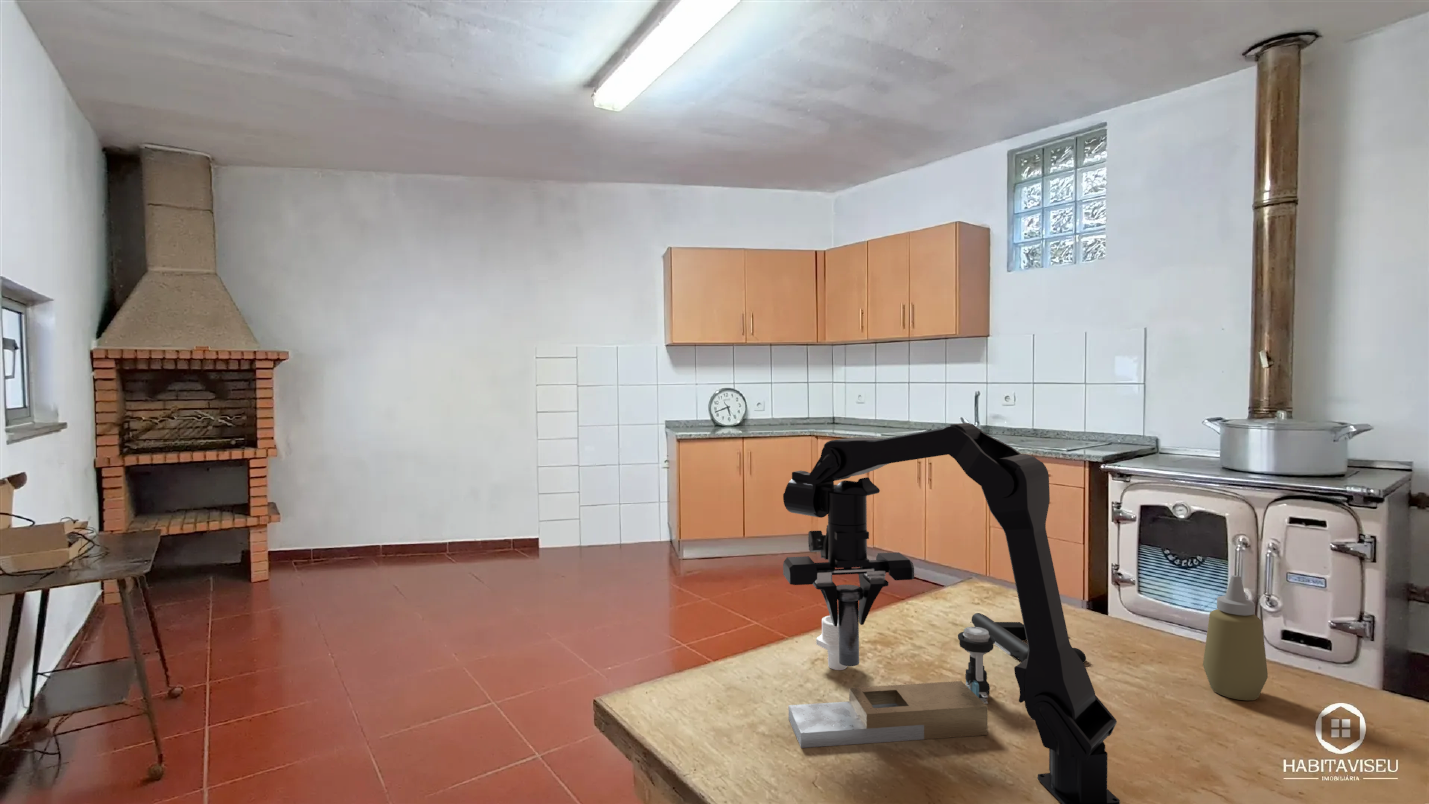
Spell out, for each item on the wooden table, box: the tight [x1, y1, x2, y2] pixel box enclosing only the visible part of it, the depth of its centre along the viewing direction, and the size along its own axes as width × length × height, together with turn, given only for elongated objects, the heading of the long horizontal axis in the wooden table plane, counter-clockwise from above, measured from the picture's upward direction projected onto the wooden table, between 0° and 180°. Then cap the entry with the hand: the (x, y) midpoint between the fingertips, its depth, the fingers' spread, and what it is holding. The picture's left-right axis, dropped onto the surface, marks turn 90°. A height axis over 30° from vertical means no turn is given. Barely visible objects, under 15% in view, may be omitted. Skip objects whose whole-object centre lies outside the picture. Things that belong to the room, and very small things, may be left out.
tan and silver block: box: [788, 680, 989, 749], centre depth 100 cm, size 8×26×4 cm, turn 96°
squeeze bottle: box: [1202, 574, 1269, 701], centre depth 108 cm, size 8×8×18 cm
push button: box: [957, 626, 995, 705], centre depth 108 cm, size 7×5×10 cm
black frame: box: [971, 612, 1087, 664], centre depth 129 cm, size 3×20×16 cm
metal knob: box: [836, 584, 863, 667], centre depth 107 cm, size 4×4×11 cm
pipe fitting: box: [815, 614, 848, 671], centre depth 120 cm, size 6×7×8 cm
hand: (848, 624), depth 107 cm, fingers closed on metal knob, 4 cm apart
